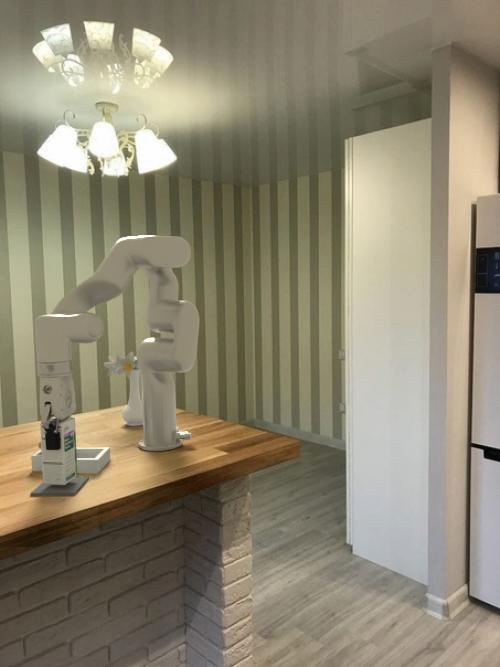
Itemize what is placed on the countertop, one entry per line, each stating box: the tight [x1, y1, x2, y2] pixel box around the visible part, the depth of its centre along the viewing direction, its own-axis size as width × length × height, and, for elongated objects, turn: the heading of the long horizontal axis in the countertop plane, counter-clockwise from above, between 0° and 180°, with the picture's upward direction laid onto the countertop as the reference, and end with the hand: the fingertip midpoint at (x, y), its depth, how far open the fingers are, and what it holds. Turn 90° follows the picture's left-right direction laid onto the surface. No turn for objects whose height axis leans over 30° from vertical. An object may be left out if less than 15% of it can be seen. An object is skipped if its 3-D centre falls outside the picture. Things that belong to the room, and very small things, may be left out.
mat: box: [29, 476, 90, 497], centre depth 123 cm, size 10×10×1 cm
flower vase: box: [103, 351, 143, 427], centre depth 177 cm, size 13×18×25 cm
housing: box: [30, 446, 111, 474], centre depth 136 cm, size 18×10×4 cm, turn 88°
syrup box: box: [39, 416, 79, 485], centre depth 122 cm, size 6×6×14 cm
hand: (59, 444), depth 122 cm, fingers closed on syrup box, 6 cm apart
